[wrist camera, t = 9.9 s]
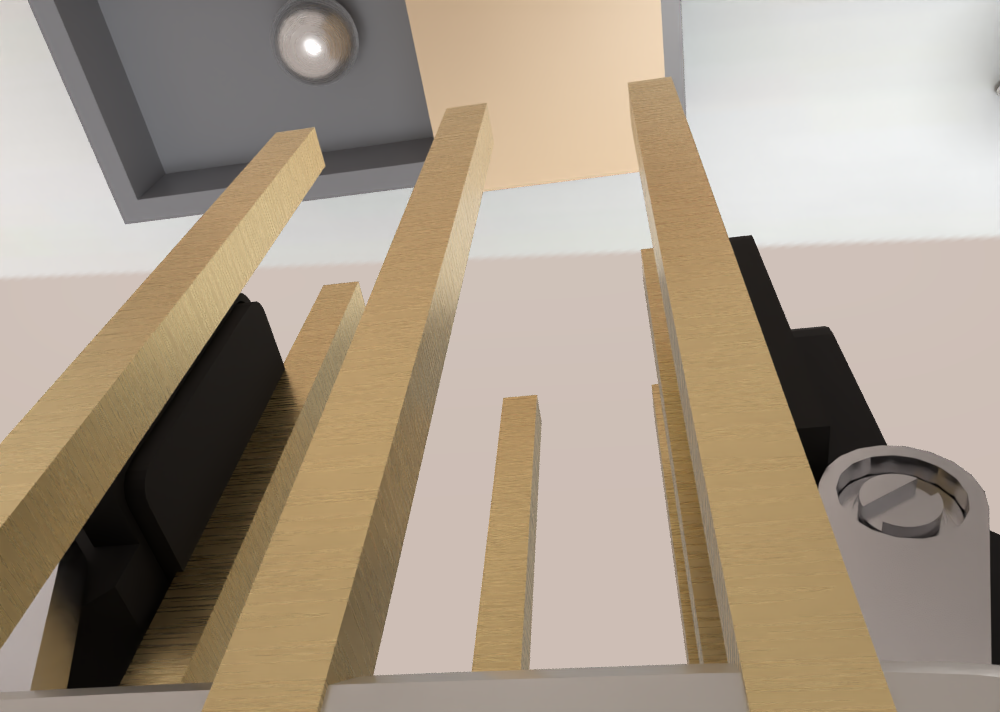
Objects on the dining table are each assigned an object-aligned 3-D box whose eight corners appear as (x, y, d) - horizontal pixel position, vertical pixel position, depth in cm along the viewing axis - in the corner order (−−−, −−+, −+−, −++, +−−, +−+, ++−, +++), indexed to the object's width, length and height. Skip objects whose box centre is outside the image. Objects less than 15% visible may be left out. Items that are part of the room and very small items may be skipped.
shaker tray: (49, -94, 34) (-80, -67, 27) (660, -211, 30) (685, -214, 23) (162, 188, 40) (80, 266, 33) (677, 119, 36) (700, 191, 30)
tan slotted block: (275, 132, 13) (-420, 918, 4) (671, 76, 12) (970, 919, 3) (370, 436, 16) (110, 1256, 7) (688, 409, 15) (859, 1308, 6)
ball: (262, -4, 34) (254, 10, 31) (347, -20, 34) (346, -7, 31) (287, 82, 35) (281, 103, 32) (367, 66, 36) (368, 86, 33)
